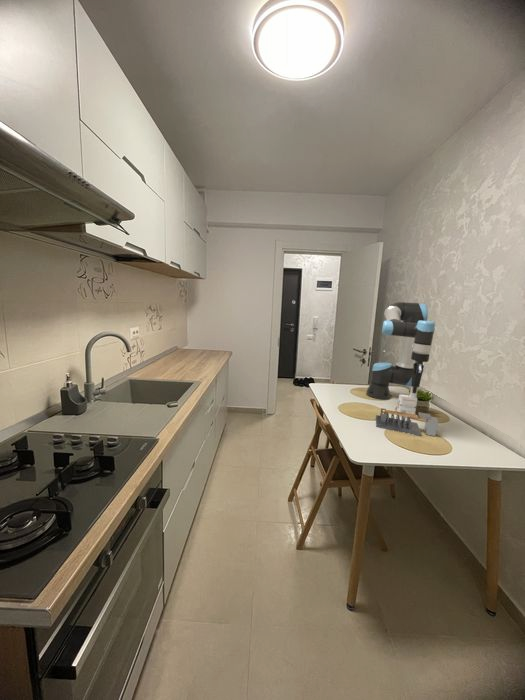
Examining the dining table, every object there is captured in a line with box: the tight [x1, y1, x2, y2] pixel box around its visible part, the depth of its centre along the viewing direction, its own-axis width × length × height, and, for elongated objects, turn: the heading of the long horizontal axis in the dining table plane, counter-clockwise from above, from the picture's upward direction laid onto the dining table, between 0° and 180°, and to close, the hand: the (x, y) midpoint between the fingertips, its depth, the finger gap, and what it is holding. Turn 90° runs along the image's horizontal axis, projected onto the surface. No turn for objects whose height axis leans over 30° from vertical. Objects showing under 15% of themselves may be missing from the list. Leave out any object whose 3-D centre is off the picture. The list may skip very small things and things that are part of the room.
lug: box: [417, 411, 439, 437], centre depth 140 cm, size 5×8×9 cm, turn 69°
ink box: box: [396, 394, 418, 419], centre depth 161 cm, size 9×5×12 cm, turn 84°
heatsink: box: [375, 407, 422, 437], centre depth 144 cm, size 12×20×7 cm, turn 69°
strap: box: [382, 408, 419, 419], centre depth 144 cm, size 4×16×2 cm, turn 69°
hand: (412, 398), depth 141 cm, fingers closed
